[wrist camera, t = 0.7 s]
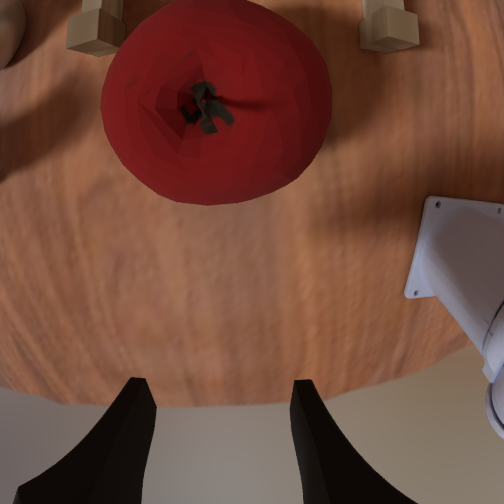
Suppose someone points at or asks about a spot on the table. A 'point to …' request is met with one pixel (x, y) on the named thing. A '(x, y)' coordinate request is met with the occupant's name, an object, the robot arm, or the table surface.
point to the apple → (216, 101)
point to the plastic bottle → (10, 29)
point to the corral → (114, 30)
